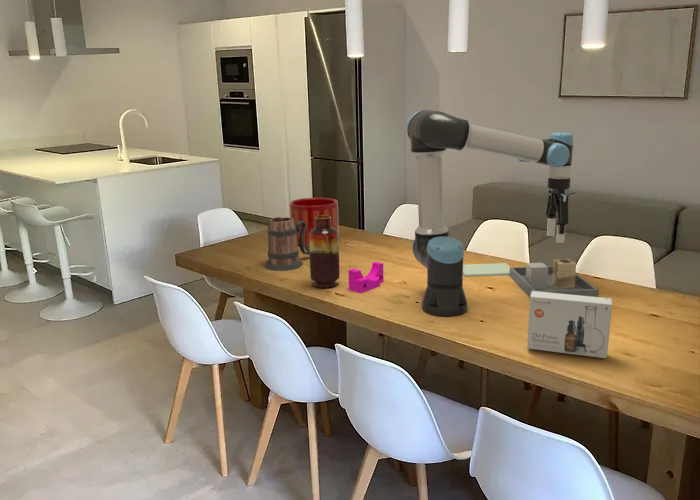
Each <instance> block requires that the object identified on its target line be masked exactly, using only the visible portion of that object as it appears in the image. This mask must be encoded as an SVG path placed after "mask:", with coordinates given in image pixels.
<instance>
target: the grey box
mask: <svg viewBox="0 0 700 500" xmlns="http://www.w3.org/2000/svg"><path fill="white" fill-rule="evenodd" d="M525 264H526V266H525V267H526V281H527V282H528V283H529V284H530V285H531V286H532V287H533V288H534V289H547V281H548V267H547V266H548V265H546V264H545V263H544V262H526V263H525Z"/></svg>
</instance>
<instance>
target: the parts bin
mask: <svg viewBox="0 0 700 500" xmlns="http://www.w3.org/2000/svg"><path fill="white" fill-rule="evenodd" d="M546 266H547V267H548V281H547V289H534V288H533V287H532V286H531V285H530V284H529V283H528V282H527V281H526V266H514V267H511V266H510V272H509V275H508V277H510V279H511V280H512V281H514V283H515V284H516V285H517V286H518V287H519V288H520V289H521V290H522V291H523V293H525V294H526V295H527V296H528V298H530V295H531V292H532V291H539V292H549V293H559V294H570V295H581V296H591V297H599V294H600V293H599V292H600V289H598V288H597V287H596V286H595V285H593V284H592V283H590V282H589V281H588V280H586V279H585V278H584V277H582V276H581V275H579V274H578V273H577V272H576V275H575V288H557V287H556V286H555V285H554V284H553V283H552V279H553V265H546Z"/></svg>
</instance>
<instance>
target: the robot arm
mask: <svg viewBox="0 0 700 500" xmlns="http://www.w3.org/2000/svg"><path fill="white" fill-rule="evenodd" d="M406 133H407V136H408V138H409V140H410V150H411V151H410V153H411V154H412V155H413V156H415V162H416V163H415V164H416V166H415V167H416V168H415V169H416V185H417V186H416V187H417V209H418V226H417V227H416V229H414V239H413V241H412V245H411V247H412V249H411V250H412V253H413V255H414V258H415V259H416V261H417V262H418V263H420V265H422V266H423V267H424V268H426V273H427V275H426V276H427V277H426V278H427V279H426V280H427V282H426V283H427V284H426V288H425V291H424V294H423V298H422V300H421V309H422V311H423V312H425V313H427V314H429V315H433V316H438V317H439V316H441V317H453V316H458V315H462V314H465V313H467V311H468V299H467V297H466V294H465V290H464V286H463V285H464V284H463V281H464V279H463V277H464V275H463V265H464V257H465V252H464V245H463V242H462V241H460V240H459V239H457V238H454V237H450V235H449V228H448V227H447V226H446V225H445V219H444V216H445V215H444V213H445V212H444V190H443V189H444V186H443V159H442V157H443V155H444V153H445V152H446V151H447V149H451V150H456V151H463V150H464V149H466V150H467V149H468V150H472V151H477V152H482V153H487V154H493V155H497V156H502V157H506V158H511V159H516V160H517V161H518V162H521V163H525V162H526V163H535V164H539V165H545V166H548V170H547V172H548V173H547V175H548V178H547V188H548V196H547V201H546V202H547V203H546V209H545V210H546V211H545V215H546V218H547V224H546V225H547V227H546V236H547V237H555V236H556V237H555V242H556V243H557V244H559V243H560V244H563V243H565V239H566V238H565V237H566V225H568V224H569V195H566V192H565V191H566V190H569V189H570V188H571V178H570V177H571V175H572V174H571V173H572V171H573V167H572V163H573V162H572V160H573V150H574V148H573V147H574V136H573V134H572V133H570V132H552V133H551V134H550V137H549V138H548V139H547V138H546V139H539V138H535V137H531V136H526V135H525V136H524V135H521V134H517V133H511V132H507V131H503V130H499V129H498V130H497V129H493V128H490V127H484V126H480V125H476V124H471V122H470V121H469V120H468V119H464V118H460V117H457V116H455V115H454V116H453V115H451V114H449V113H445V112H443V111H439V110H433V109H422V110H419V111H416V112H415V113H413V114H412V116H410V118H409V120H408V122H407V125H406ZM556 221H557V223H556Z"/></svg>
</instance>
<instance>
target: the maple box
mask: <svg viewBox="0 0 700 500" xmlns="http://www.w3.org/2000/svg"><path fill="white" fill-rule="evenodd" d="M552 266H553V279H552V283H553V284H554V285H555V286H556V287H557V288H575V275H576V273H577V262H576V261H574V260H572V259H570V258H565V259H559V258H557V259H553V265H552Z"/></svg>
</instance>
